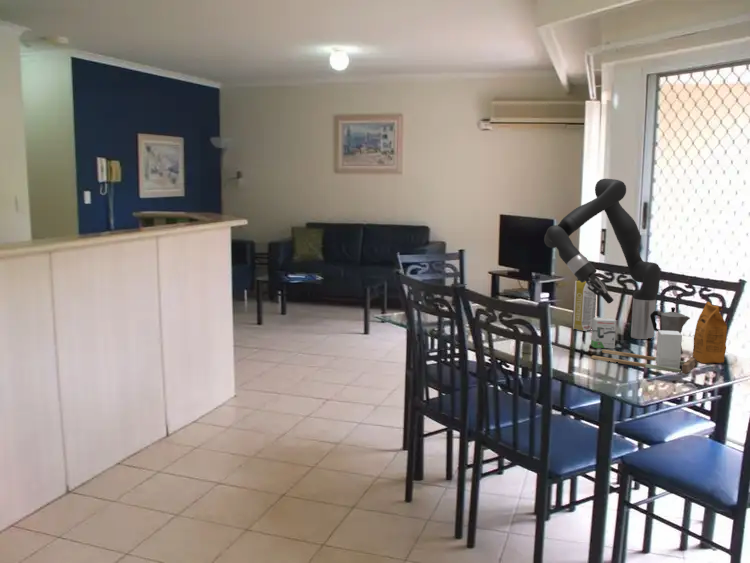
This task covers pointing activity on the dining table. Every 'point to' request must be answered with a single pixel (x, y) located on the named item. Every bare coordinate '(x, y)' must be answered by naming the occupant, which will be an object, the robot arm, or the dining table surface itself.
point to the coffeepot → (670, 321)
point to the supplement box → (668, 349)
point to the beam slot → (685, 365)
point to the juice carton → (583, 307)
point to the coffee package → (710, 336)
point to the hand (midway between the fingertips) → (611, 302)
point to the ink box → (603, 332)
